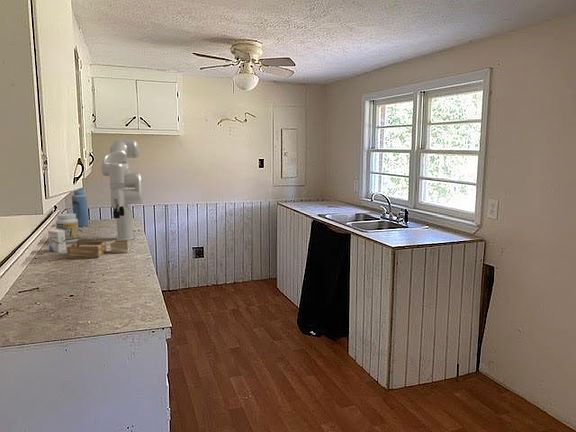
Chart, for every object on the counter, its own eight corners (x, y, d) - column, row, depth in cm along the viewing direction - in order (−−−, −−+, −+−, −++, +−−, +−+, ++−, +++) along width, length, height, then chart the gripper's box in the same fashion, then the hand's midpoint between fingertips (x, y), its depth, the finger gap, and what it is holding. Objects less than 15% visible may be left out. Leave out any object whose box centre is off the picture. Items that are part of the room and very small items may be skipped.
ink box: (48, 250, 251) (47, 230, 249) (56, 248, 255) (55, 228, 253) (58, 252, 247) (57, 231, 245) (66, 250, 251) (65, 230, 249)
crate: (77, 252, 248) (76, 241, 247) (106, 251, 249) (105, 241, 249) (67, 258, 233) (67, 247, 233) (98, 258, 235) (97, 246, 234)
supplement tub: (55, 243, 268) (53, 216, 265) (59, 239, 279) (57, 213, 276) (77, 242, 271) (75, 215, 268) (80, 238, 283) (78, 212, 280)
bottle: (91, 225, 330) (88, 185, 325) (81, 227, 321) (78, 186, 316) (81, 224, 333) (78, 184, 328) (70, 226, 324) (68, 185, 319)
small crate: (114, 250, 252) (113, 240, 251) (130, 250, 253) (129, 240, 252) (111, 253, 246) (110, 242, 245) (127, 252, 247) (127, 242, 246)
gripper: (114, 184, 251) (116, 214, 254) (105, 187, 234) (107, 219, 237) (128, 184, 252) (129, 214, 255) (120, 187, 235) (122, 219, 238)
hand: (119, 217), depth 246 cm, fingers open, 9 cm apart
